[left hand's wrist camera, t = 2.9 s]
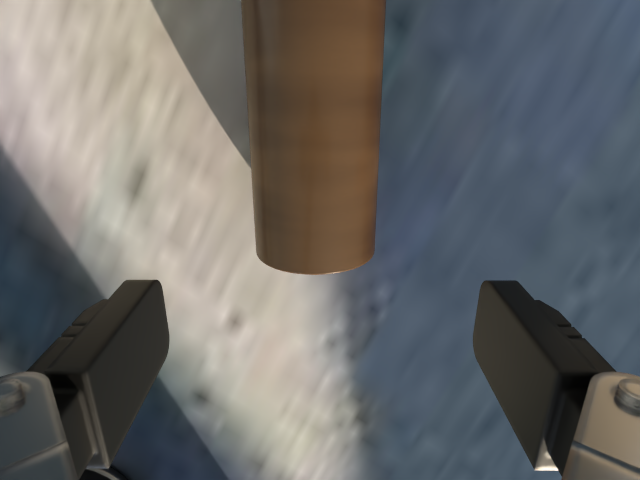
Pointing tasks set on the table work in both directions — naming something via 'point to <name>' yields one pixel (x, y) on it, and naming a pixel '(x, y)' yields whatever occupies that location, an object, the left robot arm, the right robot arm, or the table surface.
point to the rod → (314, 129)
